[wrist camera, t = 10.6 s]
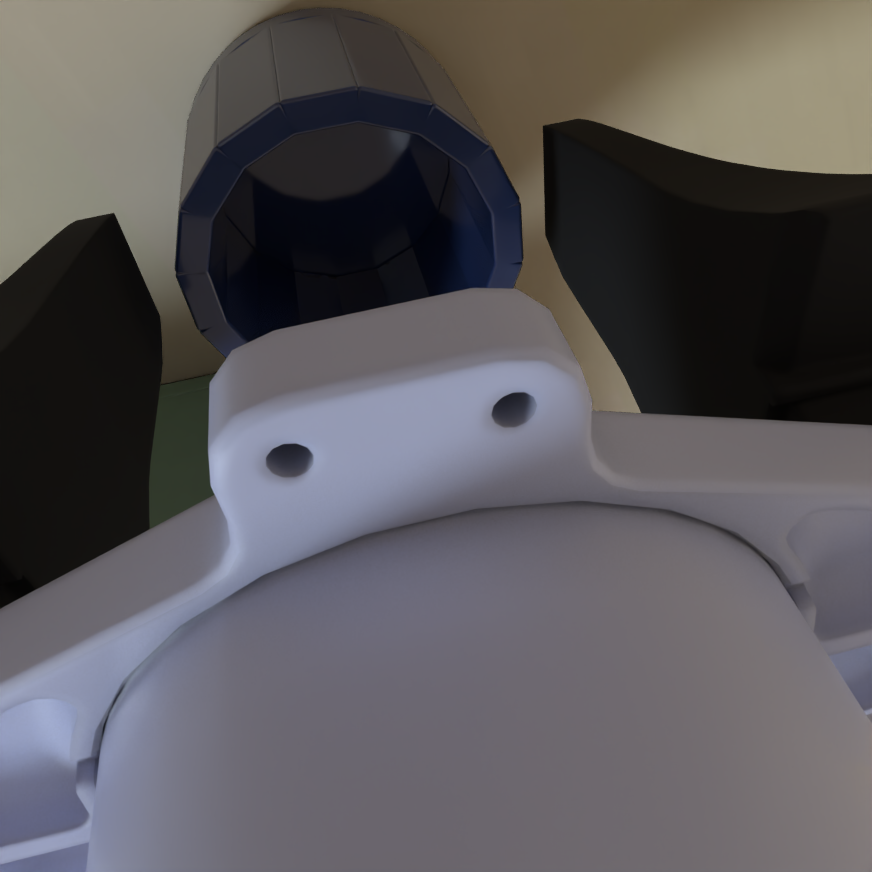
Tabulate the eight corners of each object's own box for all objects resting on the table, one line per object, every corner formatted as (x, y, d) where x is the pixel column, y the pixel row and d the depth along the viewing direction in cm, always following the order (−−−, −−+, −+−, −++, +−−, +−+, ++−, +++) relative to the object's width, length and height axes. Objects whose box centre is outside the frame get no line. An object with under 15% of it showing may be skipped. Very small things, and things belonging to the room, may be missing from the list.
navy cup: (450, -20, 14) (515, 55, 10) (476, 251, 17) (529, 365, 14) (142, 38, 13) (115, 133, 10) (235, 302, 17) (237, 429, 14)
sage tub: (353, 342, 18) (384, 492, 15) (438, 696, 30) (466, 825, 27) (-222, 466, 17) (-336, 656, 14) (98, 779, 29) (80, 924, 26)
